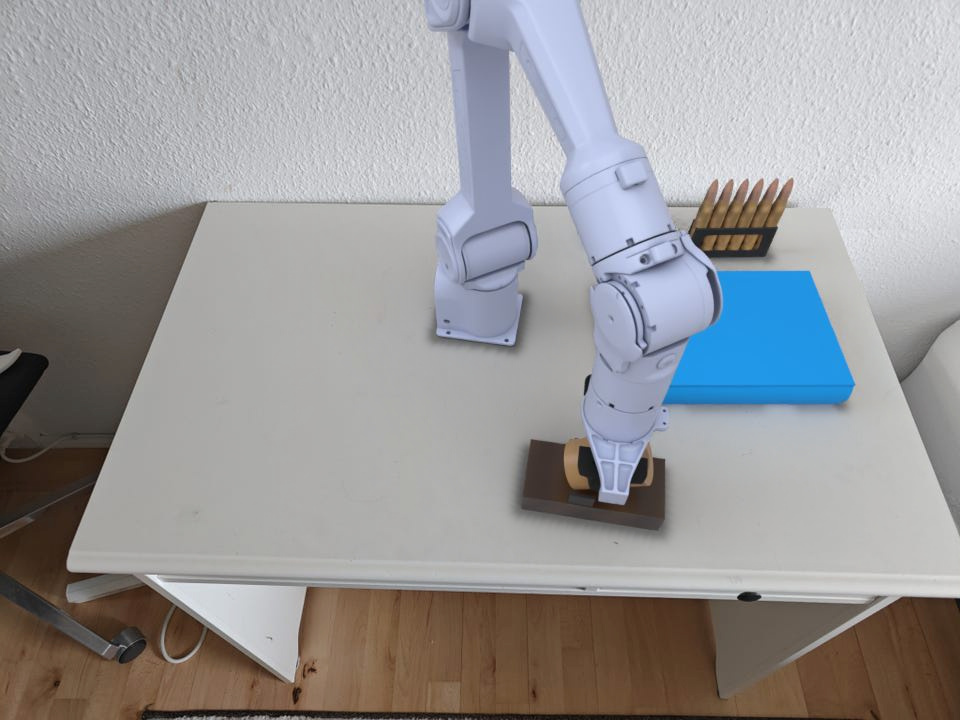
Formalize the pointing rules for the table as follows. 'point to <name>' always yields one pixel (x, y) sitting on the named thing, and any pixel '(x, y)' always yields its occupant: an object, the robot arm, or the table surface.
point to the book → (764, 346)
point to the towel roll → (582, 482)
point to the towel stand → (588, 492)
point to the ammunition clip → (739, 220)
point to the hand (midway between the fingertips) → (603, 461)
